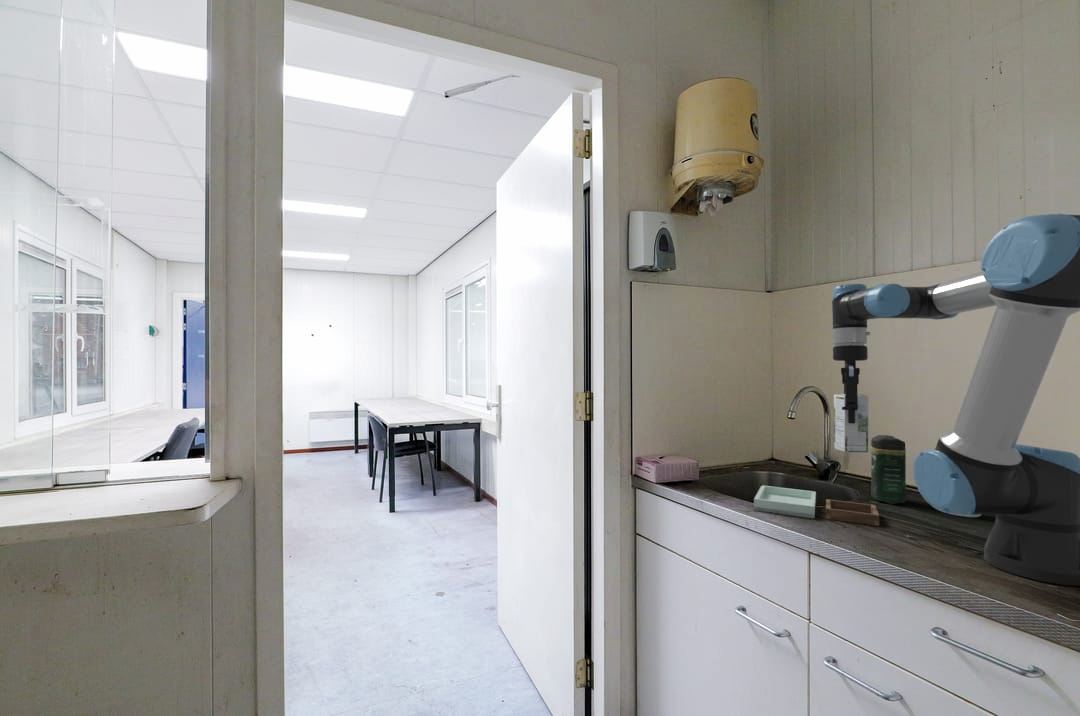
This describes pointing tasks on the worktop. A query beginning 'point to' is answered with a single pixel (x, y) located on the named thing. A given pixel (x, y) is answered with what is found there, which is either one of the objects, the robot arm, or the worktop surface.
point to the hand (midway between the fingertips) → (850, 434)
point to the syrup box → (840, 439)
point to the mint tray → (786, 501)
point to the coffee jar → (888, 469)
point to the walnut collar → (852, 512)
